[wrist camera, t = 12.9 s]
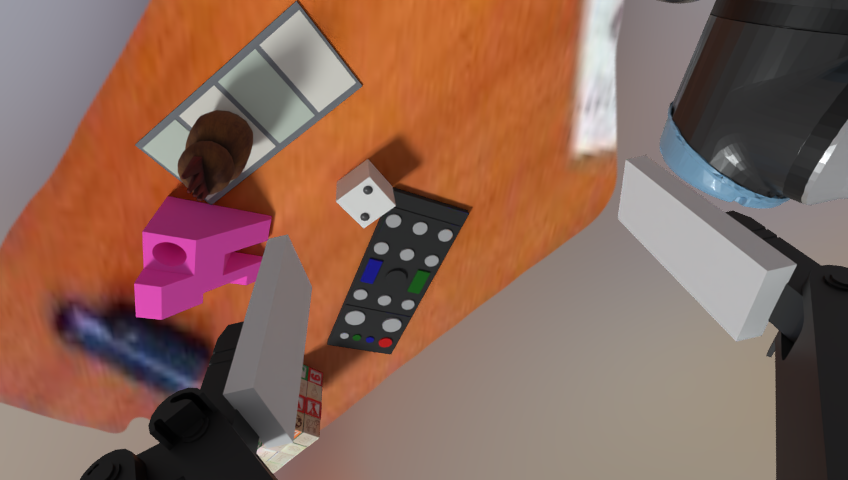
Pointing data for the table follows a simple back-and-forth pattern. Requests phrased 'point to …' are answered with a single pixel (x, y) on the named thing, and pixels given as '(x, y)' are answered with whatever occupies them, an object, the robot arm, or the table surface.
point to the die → (365, 194)
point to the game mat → (262, 94)
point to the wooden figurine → (215, 153)
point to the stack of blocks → (299, 422)
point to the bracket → (195, 254)
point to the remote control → (396, 272)
